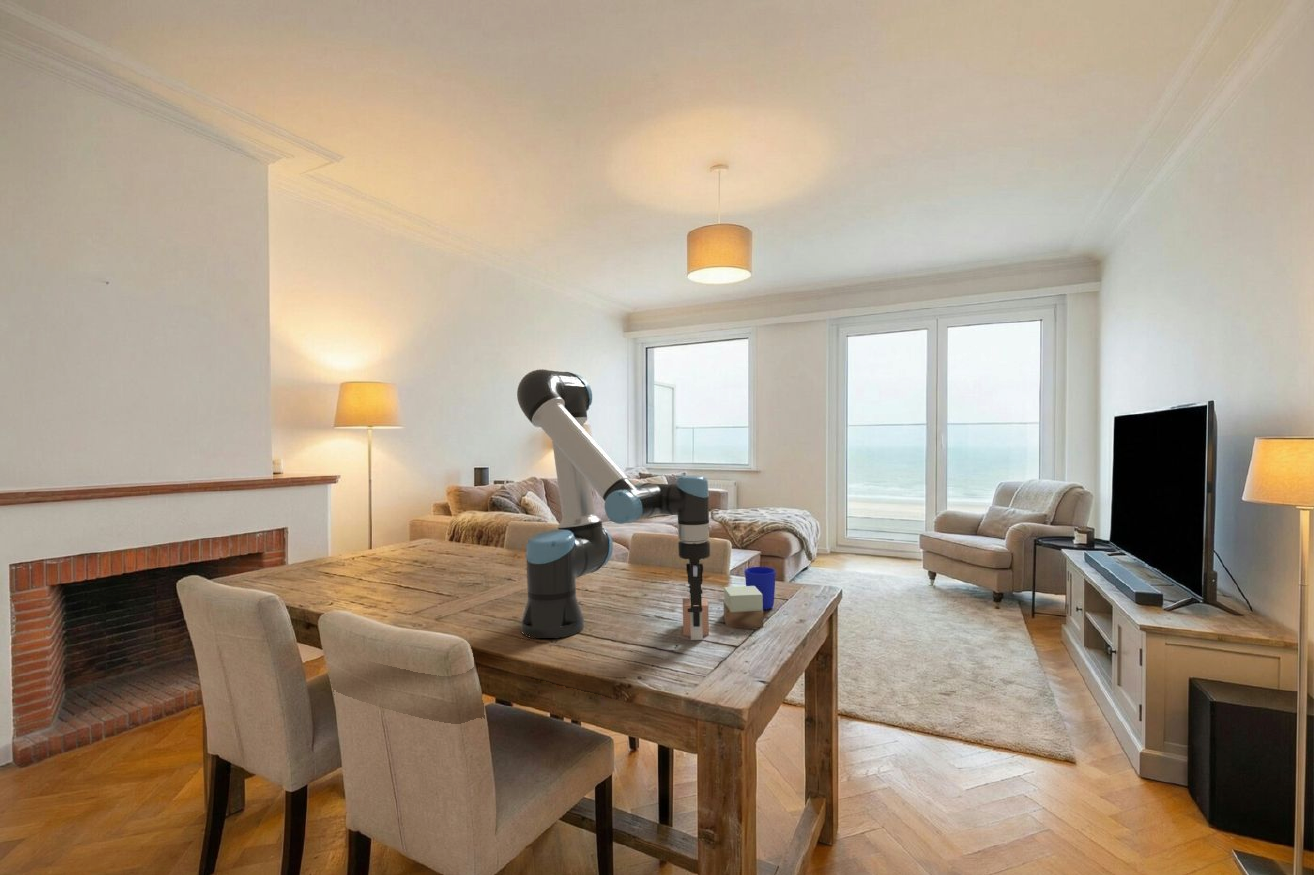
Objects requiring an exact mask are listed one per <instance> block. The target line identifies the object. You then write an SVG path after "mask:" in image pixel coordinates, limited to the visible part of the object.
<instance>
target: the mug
mask: <svg viewBox="0 0 1314 875" xmlns="http://www.w3.org/2000/svg"><path fill="white" fill-rule="evenodd" d="M744 577H745V586H755V587H756V588H757V589H758V590H759V591H760V592H761V593H762V594H763V611H765V610H770V609H772V608H773V607H774V604H775V592H776V591H775V590H776V577H777V576H776V570H775V569H774V568H773V567H772V568H771V567H767V566H751V567H746V568H745V570H744Z"/></svg>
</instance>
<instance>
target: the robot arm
mask: <svg viewBox="0 0 1314 875" xmlns="http://www.w3.org/2000/svg"><path fill="white" fill-rule="evenodd" d="M592 391H593V390H592V388H591V386H590V383H589V382H588V381H587V380H586V378H584V377H583V376H581V375H579V374H576V373H573V372H570V371H558V370H548V369H543V368H542V369H541V368H539V369H536V370H532V371H530V372H528V373H527V374H525V375H524V376H523V377H522V379H521V380H520V382H519V384H518V386H517V392H516V396H517V402H518V406H519V408H520V409H521V412H523V414H524V416H525V417H526V419H528V421H529V422H530V423H531V424H532V425H533V426H534V427H536V428H541V429H542V430H543V431H544V433H545V434H546V435H547V436H548V437H549V438H550V440H552V449H553V450H552V451H553V456H554V464H555V473H556V479H557V486H558V487H557V488H558V494H559V501H560V508H561V516H562V520H561V521H560V522H559V524H558V525H557V529H550V530H549V531H547V530H546V531H545V530H544V531H542V532H541V531H540V532H538V533H535V534H534V535H532V536H530V538H529V539H528V540H527V542H526V553H525V559H526V580H527V581H526V583H527V600H526V601H527V602H526V605H525V607H524V612H523V615H522V618H521V621H520V626H521V628H520V631H522V632H523V633H524V634H525V635H527V636H530V637H534V638H533V639H536V638H555V639H560V638H559V637H562V638H567V637H570V636H573V635H576V634H577V633H579V632H581V631H583V629H584V627H585V623H584V621H585V620H584V619H585V618H584V616H583V612H582V610H581V607H580V604H579V602H578V599H577V591H576V590H577V589H576V584H577V583H576V581H577V580H576V579H578V578H580V577H583V576H586V575H587V574H592V573H595V572H597V571H599V570H600V569H602V568H604V567H605V566H606V565H607V564H608V563H609V561H610V559H611V558H612V556H613V551H614V543H613V539H612V537H611V534H610V533H609V532H608V531H607V529H606V528H604V527H603V522H602V519H601V517H599V516H597V515H596V513H595V507H594V506H595V505H594V499H593V494H592V493H593V492H592V488H593V490H595V491H596V492H597V494H598V495H599V496H600V497H601V498H602V499H603V501H604V512H605V514H606V515H605V516H606V517H607V518H608V519H609V520H610V521H611V522H613V523H615V524H618V525H623V524H624V525H625V524H632V523H634V522H636V521H638V520H641V519H646V518H650V517H653V516H657V515H667V516H668V515H669V516H670V515H671V516H677V539H678V540H679V542H678V549H677V550H678V557H679V558H680V559H684V560H688V563H686V564H685V566H686V574H687V585H689V586H688V588H689V590H688V592H689V597H688V598H691V608H690V609H688V612H690V622H691V635H690V641H703V640H704V638H703V637H704V635H703V627H702V599H701V598H702V594H703V589H702V584H703V582H704V581H703V579H704V578H703V574H704V565H703V564H704V563H703V562H702V563H700V560H705V559H708V558H709V557H710V556H711V543H710V541H709V539H710V531H712V530H713V527H712V526H711V525H710V508H709V507H710V493H709V492H710V491H709V482H708V481H709V480H708V479H707V477H705V476H703V475H682V476H678V477H677V478H676V483H671V484H670V483H652V482H645V483H644V482H643V483H637V484H634V483H633V482H632V481H631V480H630V479H629V478H628V477H627V476H626V474H625V473H624V472H623V471H622V470H621V469H620V468H619V467H618V465H616V463H615V462H614V461H613V460H612V459H611V458H610V457H609V454H607V453H606V452H605V451H604V449H602V447H601V446H600V445H599V444H598V443H597V442H596V441H595V440H594V439H593V437H592V436H591V435H590V434H589V433H588V432H587V430H585V428H584V424H585V423H586V422H587V421H588V415H587V414H588V413H587V412H588V411H589V409H590V406H591V405H592V403H593V392H592ZM694 605H699V606H694ZM522 632H521V633H522ZM525 635H524V636H525ZM527 636H526V637H527ZM530 637H529V638H530Z"/></svg>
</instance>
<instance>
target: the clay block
mask: <svg viewBox="0 0 1314 875" xmlns="http://www.w3.org/2000/svg"><path fill="white" fill-rule="evenodd" d="M701 599H702V627H703V636H709V635H710V626H709V624H710V623H709V621H710V619H709V617H710V616H709V615H710V614H709V600H708V598H707V597H705V598H704V597H701ZM694 606H699V605H694ZM690 608H691V598H689V597H688V598H684V597H683V598H682V630H683V631H682V633H683V634H682V635H683V636H691V622H690V612H688V609H690Z"/></svg>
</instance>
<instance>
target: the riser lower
mask: <svg viewBox="0 0 1314 875" xmlns="http://www.w3.org/2000/svg"><path fill="white" fill-rule="evenodd" d="M723 620H724V623H725V627H726V628H739V627H740V628H760V627H761V628H763V627H764V610H763V611H746V612H730V611H729V609H728V608H727V606H726V604H725V603H724V602H723Z"/></svg>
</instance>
